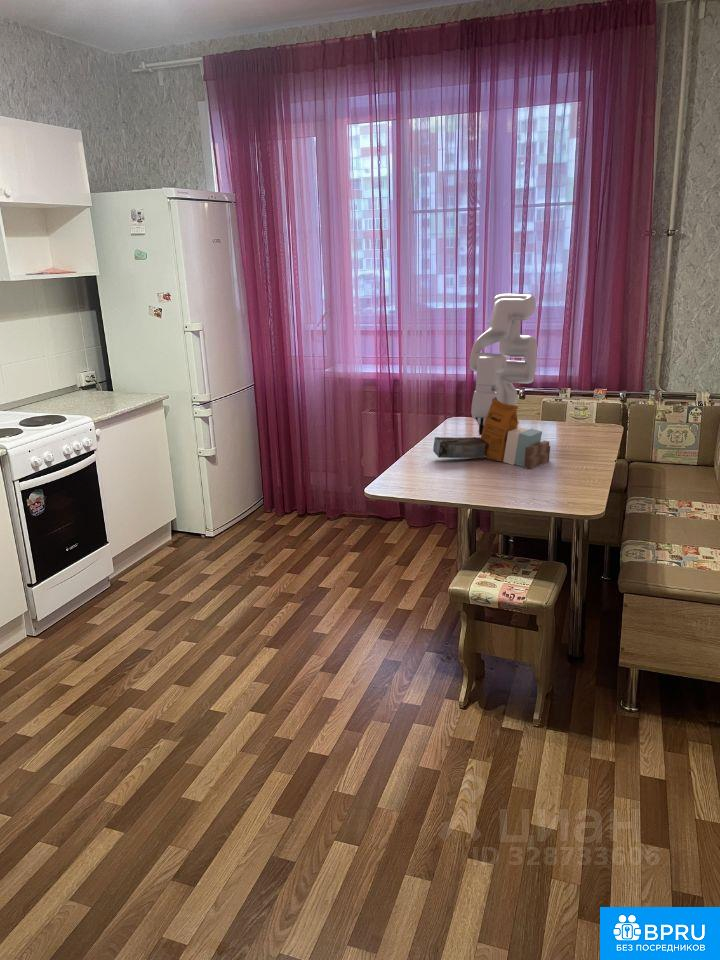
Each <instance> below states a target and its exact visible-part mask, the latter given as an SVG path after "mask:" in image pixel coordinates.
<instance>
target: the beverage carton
mask: <svg viewBox="0 0 720 960" xmlns="http://www.w3.org/2000/svg"><path fill="white" fill-rule="evenodd" d="M433 440H434V441H433V448H432V449H433V450H432V451H433V453H434V454H435V455H436V456H437V458H446V459H448V458H449V459H450V458H451V459H459V458H460V459H463V458H464V459H467V458H469V459H470V458H471V459H473V458H475V459H484V458H485V451H486V443H485V442H484V441H483V440H482V439H481V436H480V437H476V436H474V437H469V436H468V437H467V436H465V437H463V436H462V437H460V436H459V437H450V436H449V437H444V436H443V437H441V436H440V437H439V436H438V437H437V436H436V437H434V439H433Z"/></svg>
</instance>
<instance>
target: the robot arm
mask: <svg viewBox="0 0 720 960" xmlns="http://www.w3.org/2000/svg"><path fill="white" fill-rule="evenodd" d="M536 304H537V303H536V298H535V297H534V295H532V294H522V293H521V294H520V293H518V294H517V293H501V294H498V295H495V296H494V298H493V307H492V312H491V315H490V319H489V325H488V329H487V330H486V331H485V332H484V333H482V334H481V335H480V336H478V338H477V339H475V341H474V343H473V345H472V348H471V353H470V357H469V362H468V363H469V368H470V370H471V371H472V372H476V375H475V376H476V378H475V379H476V380H475V390H474V392H473V395H472V400H471V401H472V402H471V407H470V408H471V411H470V413H471V419H474V420H476V422H477V424H478V425H479V426H478V435H479V436H481V435H482V431H483V427H484V423H485V419H486V417H487V414H488V412H489V409H490V406H491V404H492V402H493V400H494V399H496V400H498V401H500V402H501V403H503V404H509V405H515V406H517V398H518V391H517V389H516V387H515V386H514V384H515V383H516V384H526V385H527V384H532V383H533V382H534V380H535V376H536V370H537V355H538V343H537V339H536V337H534V336H533V335H528V334H527V335H525V334H523V335H522V334H521V326H522V324H521V321H527V320H528V319H529V318H531V316H532V315H533V314H534V313H535V311H536ZM496 343H498V350H499V353H491V352H490V353H489V352H482V350H484V349H485V348H486V347H488V346H490V345H493V344H496ZM507 358H518V359H524V360H512V359H507ZM519 424H520V420H518V425H519Z"/></svg>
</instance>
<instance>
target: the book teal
mask: <svg viewBox="0 0 720 960" xmlns="http://www.w3.org/2000/svg"><path fill="white" fill-rule="evenodd" d="M528 429H529V430H526V431H524V432H521V433H519V438H518V444H517V450H516V456H515V463H514V464H515V465H518V466H521V467H523V466H524V464H525V450H526V447H529V446H532V445H534V444H537V443H540V442H542V441H541V440H542V434H543V431H542V430H538V429H534V428H528Z"/></svg>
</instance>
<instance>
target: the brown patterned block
mask: <svg viewBox="0 0 720 960" xmlns="http://www.w3.org/2000/svg"><path fill="white" fill-rule="evenodd" d="M550 455H551V445H550V441H549V440H544V441H540V443H537V444H534V445H532V446H529V447H526V450H525V464H524V467H523V469H524V468H526V469H525V470H531V468H532V469H533V467H534V468H537V467H538V466H541V465H544V464H546V463H549V462H550ZM536 466H537V467H536Z"/></svg>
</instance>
